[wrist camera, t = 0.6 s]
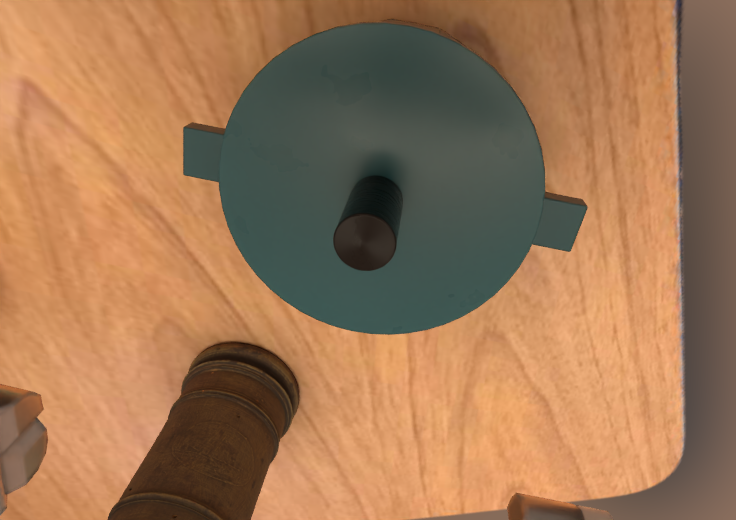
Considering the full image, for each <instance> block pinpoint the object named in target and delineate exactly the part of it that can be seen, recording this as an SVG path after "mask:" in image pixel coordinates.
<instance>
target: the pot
mask: <svg viewBox="0 0 736 520" xmlns="http://www.w3.org/2000/svg"><path fill="white" fill-rule="evenodd" d="M380 22H392V23H400V24H409V25H413V26H417V27H421V28H424V29H428V30H432V31H435V32H437V33H439V34H442V35H444V36H446V37H449V38H451V39H454V40H456V39H455V38H453V37H451V36H450V35H449V34H447V33H446V32H444V31H443V30H442V29H439V28H437V27H431V26H426V25H422V24H418V23H413V22H405V21H400V20H394V19H388V20H384V21H380ZM456 41H457V42H459V41H458V40H456ZM459 43H461V42H459ZM461 44H462V43H461ZM462 45H463V44H462ZM224 133H225V129H223V128H218V127H213V126H208V125H202V124H197V123H190V124H188V125H187V126H185V127H184V128H183V174H184V175H186V176H191V177H196V178H201V179H206V180H211V181H216V182H219V160H220V150H221V145H222V141H223V137H224ZM586 210H587V205H586V204H585V202H584V201H583V200H582V199H578V198H573V197H568V196H563V195H558V194H553V193H548V192H545V197H544V205H543V212H542V216H541V220H540V223H539V227H538V231H537V233H536V236H535V238H534V240H533V243H532V244H533V245H538V246H543V247H548V248H553V249H558V250H563V251H568V252H570V251H571V249H572V246H573V244H574V241H575V239H576V236H577V233H578V231H579V228H580V226H581V223H582V221H583V218H584V216H585V213H586Z"/></svg>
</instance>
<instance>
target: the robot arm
mask: <svg viewBox="0 0 736 520" xmlns="http://www.w3.org/2000/svg"><path fill="white" fill-rule="evenodd" d="M43 410H44V409H43V404H42V399H41V395H40V394H37V393H35V392H32V391H27V390H23V389H19V388H15V387H11V386H6V385H2V384H0V515H1V514H2V513H3V512H4V511H5V509H6V508H7V494H9V493H11V492H13V491H15V490H17V489H19V488H21V487H23V486H25V485H26V484H27V483H28V482H29V480H30V479H31V478H32V477H33V475H34V474H35V473H36V472H37V470H38V469H39V466H40V464H41V462H42V460H43V458H44V456H45V454H46V449H47V443H48V436H47V429H46V428H45V427H44V425H43V424H42V423H41V422H40V421H39V420H38V418H37V416H38V415H39V414H40V413H41V412H42V411H43ZM507 510H508V517H509V520H614V519H613V517H612V516H611V515H610V513H609V512H608V511H603V510H598V509H593V508H589V507H583V506H579V505H574V504H571V503H566V502H561V501H555V500H550V499H545V498H540V497H535V496H530V495H525V494H520V493H516V494H515V495H514V496H512V498H511V500H510V502H509V504H508V507H507Z"/></svg>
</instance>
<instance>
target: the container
mask: <svg viewBox="0 0 736 520" xmlns="http://www.w3.org/2000/svg"><path fill="white" fill-rule="evenodd" d="M298 404H299V391H298V385H297V382H296V380H295V378H294V376H293V374H292V373H291V371H290V370H289V369H288V367H287V366H286V365H285V364H284V363H283V362H282V361H281V360H279V359H278V358H277V357H276V356H274V355H272V354H271V353H269V352H267V351H265V350H263V349H261V348H258V347H255V346H252V345H248V344H242V343H226V344H220V345H216V346H213V347H211V348H209V349H207V350H205V351H204V352H202V353H201V354H200V355H199V356H198V357H197V358H196V359H195V360H194V361H193V363H192V364H191V366H190V369H189V372H188V374H187V375H186V377H185V379H184V381H183V384H182V390H181V396H180V397H179V399H178V400H177V401H176V402H175V403H174V404H173V406H172V408H171V410H170V413H169V416H168V420H167V422H166V423H165V425H164V427H163V429H162V431H161V432H160V434H159V436H158V437H157V439H156V441H155V442H154V444H153V446H152V447H151V449H150V451H149V452H148V454H147V456H146V457H145V459H144V460H143V462H142V464H141V465H140V467H139V468H138V470H137V472H136V473H135V475H134V477H133V478H132V480H131V481H130V483H129V485H128V486H127V488H126V490H125V491H124V493H123V495H122V496H121V498H120V500H119V502H118V503H116V504H115V505H114V507H113V508H112V510H111V512H110V513H109V516H108V520H251V517H252V514H253V511H254V508H255V505H256V502H257V499H258V496H259V494H260V491H261V488H262V485H263V482H264V479H265V476H266V474H267V471H268V468H269V465H270V463H271V462H272V461H273V459H274V458H275V456H276V454H277V451H278V447H279V441H280V438H282V437H283V436H284V435H285V433H286V432H287V431H288V429H289V427H290V425H291V422H292V419H293V417H294V415H295V414H296V411H297V408H298Z"/></svg>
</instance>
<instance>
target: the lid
mask: <svg viewBox="0 0 736 520" xmlns="http://www.w3.org/2000/svg"><path fill="white" fill-rule="evenodd" d="M219 190H220V196H221V202H222V208H223V211H224V215H225V218H226V221H227V225H228V228H229V230H230V232H231V234H232V237H233V239H234V241H235V243H236V245H237V247H238V249H239V250H240V252H241V254H242V255H243V257H244V259H245V260H246V262H247V263H248V264H249V266H250V267H251V268H252V269H253V271H254V272H255V273H256V275H257V276H258V277H259V278H260V279H261V280H262V281H263V282H264V283H265V284H266V285H267V286H268V287H269V288H270V289H271V290H272V291H273V292H274V293H276V294H277V295H278V296H279V297H280V298H282V299H283V300H284V301H285V302H287V303H289V304H290V305H292V306H293V307H295V308H296V309H298V310H299V311H301V312H303V313H305V314H307V315H309V316H311V317H313V318H315V319H317V320H319V321H322V322H324V323H327V324H330V325H332V326H335V327H339V328H343V329H347V330H350V331H356V332H362V333H369V334H388V335H390V334H404V333H412V332H418V331H423V330H428V329H431V328H434V327H438V326H441V325H444V324H447V323H449V322H451V321H454V320H456V319H458V318H461V317H462V316H464V315H466V314H468V313H469V312H471V311H473V310H475V309H476V308H478V307H479V306H481V305H482V304H483V303H485V302H486V301H487V300H489V299H490V298H491V297H493V296H494V295H495V294H496V293H497V292H498V291H499V290H500V289H501V288H502V287H503V286H504V285H505V284H506V283H507V282H508V281H509V279H510V278H511V277H512V276H513V274H514V273H515V272H516V271H517V269H518V268H519V267H520V265H521V263H522V262H523V260H524V258H525V257H526V255H527V253H528V252H529V250H530V247H531V245H532V243H533V240H534V238H535V236H536V233H537V231H538V227H539V223H540V220H541V216H542V212H543V205H544V197H545V168H544V162H543V155H542V149H541V146H540V143H539V139H538V136H537V133H536V130H535V127H534V125H533V123H532V121H531V119H530V116H529V114H528V112H527V110H526V108H525V106H524V105H523V103H522V102H521V100H520V99H519V97H518V96H517V94H516V93H515V91H514V90H513V88H512V87H511V86H510V84H509V83H508V82H507V81H506V80H505V79H504V78H503V77H502V76H501V75H500V73H499V72H498V71H497V70H496V69H495V68H494V67H493V66H491V65H490V64H489V63H488V62H487V61H485V60H484V59H483V58H482V57H481V56H479V55H478V54H477V53H476V52H474V51H472V50H471V49H469V48H467V47H466V46H464V45H462V44H461V43H459V42H457V41H456V40H454V39H451V38H449V37H446V36H444V35H442V34H439V33H437V32H435V31H432V30H428V29H424V28H421V27H417V26H413V25H409V24H400V23H392V22H361V23H355V24H349V25H344V26H338V27H335V28H332V29H329V30H326V31H323V32H320V33H317V34H314V35H312V36H310V37H308V38H306V39H304V40H302V41H300V42H298V43H296V44H294V45H292V46H291V47H289V48H288V49H286V50H285V51H283V52H282V53H281V54H279V55H278V56H276V57H275V58H273V59H272V60H271V61H270V62H269V63H268V64H267V65H266V66H265V67H264V68H263V69H262V70H261V71H260V72H259V73H258V74H257V75H256V76H255V77H254V79H253V80H252V81H251V82H250V84H249V85H248V86H247V87H246V89H245V90H244V91H243V93H242V95H241V97H240V98H239V100H238V102H237V104H236V105H235V107H234V109H233V111H232V114H231V116H230V119H229V121H228V124H227V126H226V129H225V133H224V137H223V141H222V145H221V150H220V160H219Z"/></svg>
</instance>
